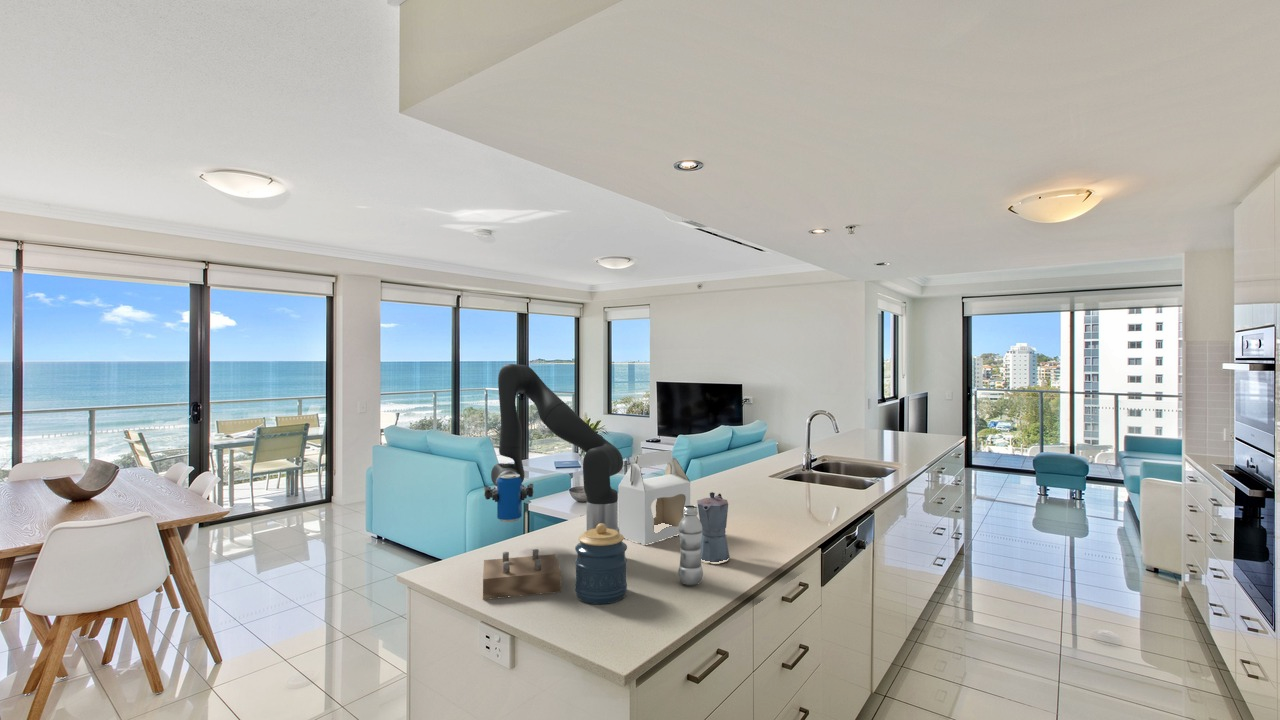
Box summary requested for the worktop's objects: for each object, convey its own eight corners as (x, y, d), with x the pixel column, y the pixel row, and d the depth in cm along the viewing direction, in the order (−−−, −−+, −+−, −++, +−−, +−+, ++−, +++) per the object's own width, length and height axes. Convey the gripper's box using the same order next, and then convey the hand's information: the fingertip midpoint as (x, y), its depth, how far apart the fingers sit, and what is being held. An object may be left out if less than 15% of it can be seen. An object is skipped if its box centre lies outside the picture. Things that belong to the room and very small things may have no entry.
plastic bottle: (705, 580, 149) (705, 505, 149) (699, 589, 142) (699, 511, 143) (681, 577, 151) (681, 503, 151) (675, 586, 144) (675, 509, 145)
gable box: (663, 524, 202) (663, 447, 203) (691, 532, 193) (691, 451, 193) (617, 537, 187) (617, 453, 188) (644, 546, 178) (644, 458, 178)
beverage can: (515, 523, 149) (515, 478, 149) (493, 522, 150) (493, 477, 150) (525, 517, 155) (525, 473, 155) (503, 515, 156) (503, 472, 157)
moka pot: (690, 565, 160) (690, 495, 160) (705, 549, 174) (704, 485, 175) (723, 570, 156) (723, 498, 157) (735, 553, 171) (735, 487, 171)
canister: (607, 609, 131) (607, 534, 131) (564, 597, 138) (564, 525, 138) (637, 591, 142) (637, 521, 142) (595, 580, 149) (595, 514, 149)
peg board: (555, 572, 155) (555, 545, 155) (561, 591, 141) (561, 561, 141) (483, 578, 150) (484, 550, 150) (482, 599, 136) (483, 568, 136)
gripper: (483, 473, 165) (482, 484, 149) (533, 470, 168) (536, 481, 152) (483, 498, 165) (481, 513, 149) (533, 495, 168) (536, 509, 152)
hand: (509, 497), depth 150 cm, fingers closed on beverage can, 6 cm apart
